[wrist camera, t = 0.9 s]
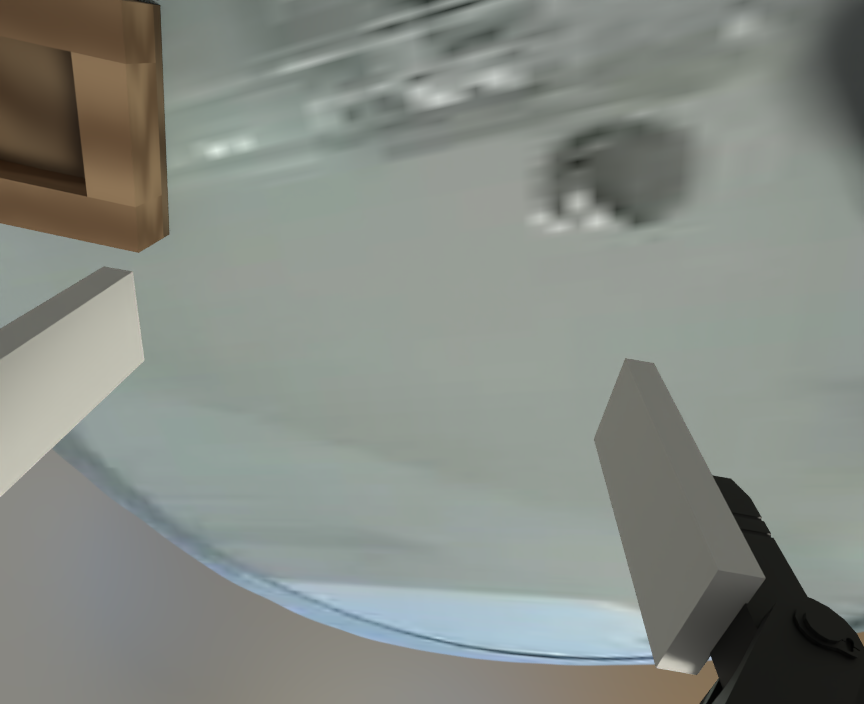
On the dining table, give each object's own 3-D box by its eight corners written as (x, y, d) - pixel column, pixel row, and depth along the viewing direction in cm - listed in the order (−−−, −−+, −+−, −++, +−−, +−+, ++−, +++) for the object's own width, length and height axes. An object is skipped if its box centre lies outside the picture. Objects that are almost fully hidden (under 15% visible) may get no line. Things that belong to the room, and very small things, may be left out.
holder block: (-81, -50, 32) (-151, -62, 28) (160, 5, 32) (121, 0, 29) (-29, 191, 38) (-80, 206, 35) (169, 234, 39) (138, 252, 35)
